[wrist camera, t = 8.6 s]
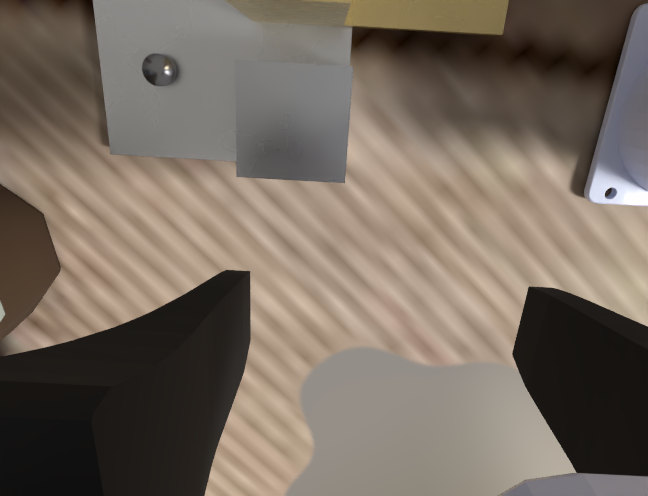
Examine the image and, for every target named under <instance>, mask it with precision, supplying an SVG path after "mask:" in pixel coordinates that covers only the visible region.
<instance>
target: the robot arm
mask: <svg viewBox="0 0 648 496" xmlns="http://www.w3.org/2000/svg"><path fill="white" fill-rule="evenodd" d="M609 188H612V192H611V193H610V195H608V196H607V197H605V192H606V190H607V189H609ZM584 196H585V198H586V199H587V200H588V201H590V202H593V203H599V204H616V205H634V206H648V3H646V4H642V5H641V6H639V7H638V8H637V9H636V10H635V11H634V13H633V15H632V17H631V21H630V24H629V28H628V32H627V35H626V39H625V43H624V46H623V50H622V54H621V57H620V61H619V65H618V68H617V72H616V76H615V79H614V83H613V87H612V90H611V94H610V98H609V101H608V105H607V109H606V112H605V116H604V120H603V123H602V127H601V131H600V134H599V138H598V142H597V145H596V149H595V153H594V156H593V160H592V164H591V168H590V171H589V175H588V179H587V182H586V186H585V190H584ZM249 345H250V271H235V270H225V271H223V272H221V273H219V274H217V275H216V276H214V277H212V278H211V279H209V280H207V281H206V282H204V283H203V284H201V285H199V286H198V287H196V288H194V289H193V290H191V291H189V292H188V293H186V294H184V295H182V296H181V297H179V298H177V299H175V300H173V301H171V302H169V303H167V304H165V305H164V306H162V307H160V308H158V309H156V310H154V311H152V312H150V313H148V314H145V315H143V316H141V317H139V318H136V319H134V320H131V321H129V322H126V323H124V324H121V325H119V326H116V327H114V328H111V329H108V330H105V331H101V332H98V333H95V334H92V335H89V336H86V337H82V338H79V339H76V340H73V341H69V342H66V343H62V344H58V345H54V346H50V347H46V348H41V349H37V350H32V351H27V352H23V353H18V354H13V355H7V356H2V357H0V496H204V495H205V491H206V486H207V482H208V478H209V474H210V470H211V466H212V462H213V459H214V456H215V452H216V449H217V446H218V443H219V440H220V437H221V435H222V432H223V429H224V426H225V423H226V421H227V418H228V415H229V412H230V410H231V407H232V404H233V401H234V399H235V396H236V393H237V390H238V387H239V384H240V382H241V379H242V376H243V373H244V369H245V364H246V360H247V355H248V350H249ZM512 354H513V357H514V360H515V362H516V365H517V368H518V370H519V373H520V375H521V377H522V379H523V382H524V384H525V386H526V388H527V390H528V392H529V394H530V395H531V397H532V399H533V400H534V402H535V404H536V405H537V407H538V409H539V410H540V412H541V414H542V416H543V417H544V419H545V420H546V422H547V424H548V425H549V427H550V429H551V430H552V432H553V434H554V435H555V437H556V439H557V440H558V442H559V443H560V445H561V447H562V448H563V450H564V452H565V453H566V455H567V457H568V458H569V460H570V461H571V463H572V465H573V467H574V469H575V470H576V472H577V473H570V474H563V475H556V476H549V477H542V478H535V479H528V480H524V481H522V482H521V483H519V484H517V485H515V486H514V487H512V488H510V489H508V490H506V491H505V492H503V493H501V494H500V495H498V496H648V327H647V326H645V325H643V324H640V323H638V322H636V321H633V320H631V319H629V318H626V317H624V316H622V315H620V314H617V313H615V312H613V311H611V310H608V309H606V308H604V307H602V306H599V305H597V304H595V303H592V302H590V301H588V300H585V299H583V298H581V297H578V296H576V295H573V294H571V293H568V292H565V291H562V290H559V289H555V288H545V287H529V288H528V292H527V296H526V300H525V304H524V308H523V312H522V317H521V321H520V325H519V329H518V333H517V337H516V341H515V345H514V349H513V353H512Z"/></svg>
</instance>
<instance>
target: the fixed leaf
mask: <svg viewBox="0 0 648 496" xmlns="http://www.w3.org/2000/svg"><path fill="white" fill-rule="evenodd" d="M93 7H94V15H95V24H96V33H97V41H98V50H99V58H100V67H101V76H102V84H103V93H104V102H105V110H106V119H107V127H108V136H109V145H110V153H111V154H116V155H134V156H151V157H168V158H186V159H203V160H220V161H236V167H237V177H248V178H266V179H283V180H301V181H318V182H336V183H345V173H346V159H347V146H348V132H349V119H350V105H351V91H352V78H353V67H352V66H350V53H351V39H352V27H337V26H321V25H304V24H288V23H271V22H255V21H252V20H251V19H250V18H248V17H247V16H246V15H244V14H243V13H241V12H240V11H239V10H237V9H236V8H235V7H233V6H232V5H231V4H229V3H228V2H226V1H225V0H93Z"/></svg>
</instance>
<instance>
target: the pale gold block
mask: <svg viewBox="0 0 648 496" xmlns="http://www.w3.org/2000/svg"><path fill="white" fill-rule="evenodd" d="M225 1H226V2H228V3H229V4H231V5H232V6H233V7H235V8H236V9H237V10H239V11H240V12H241V13H243V14H244V15H246V16H247V17H248V18H250V19H251V20H252V21H255V22H271V23H288V24H304V25H321V26H337V27H354V28H370V29H387V30H403V31H420V32H437V33H453V34H470V35H486V36H500V35H503V30H504V25H505V19H506V13H507V8H508V2H509V0H225Z"/></svg>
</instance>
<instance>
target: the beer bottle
mask: <svg viewBox="0 0 648 496" xmlns="http://www.w3.org/2000/svg"><path fill="white" fill-rule="evenodd" d="M60 268H61V267H60V264H59V261H58V258H57V255H56V252H55V248H54V245H53V242H52V239H51V236H50V233H49V230H48V227H47V224H46V221H45V218H44V215H43V214H42V213H41V212H40V211H38V210H37V209H35V208H34V207H32V206H31V205H29V204H28V203H26V202H25V201H23V200H22V199H20V198H19V197H18V196H16V195H15V194H13V193H12V192H10V191H9V190H7V189H6V188H4V187H3V186H1V185H0V340H2V339H3V338H4V337H5V336H7V335H8V334H9V333H10V332H11V331H13V330H14V329H15V328H16V327H17V326H18V325H19V324H20V323H21V322H22V321H23V320H24V319H25V318H27V317H28V316H29V315H30V314H31V313H32V312H33V311H34V309H35V308H36V306H37V305H38V303H39V302H40V300H41V299H42V297H43V296H44V294H45V293H46V292H47V290H48V289H49V287H50V286H51V284H52V283H53V281H54V280H55V278H56V277H57V275H58V274H59V272H60Z"/></svg>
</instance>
